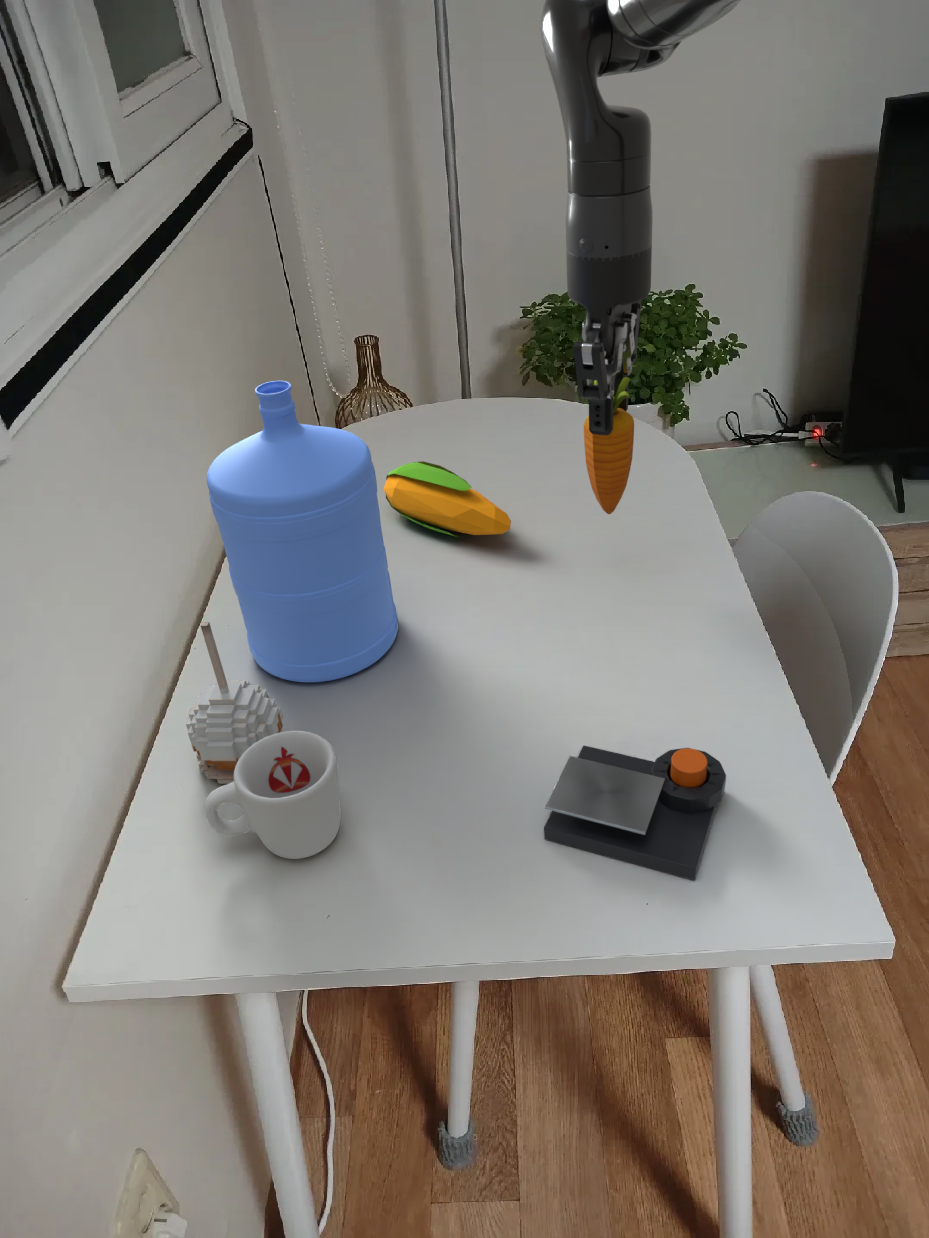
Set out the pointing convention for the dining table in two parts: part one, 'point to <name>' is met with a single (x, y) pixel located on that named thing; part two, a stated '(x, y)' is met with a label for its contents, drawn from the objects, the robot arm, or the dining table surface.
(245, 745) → the caramel apple
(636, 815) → the plate
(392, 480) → the corn
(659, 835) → the scale
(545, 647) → the dining table surface
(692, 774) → the button
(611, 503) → the carrot
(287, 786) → the cup
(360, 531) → the water jug
